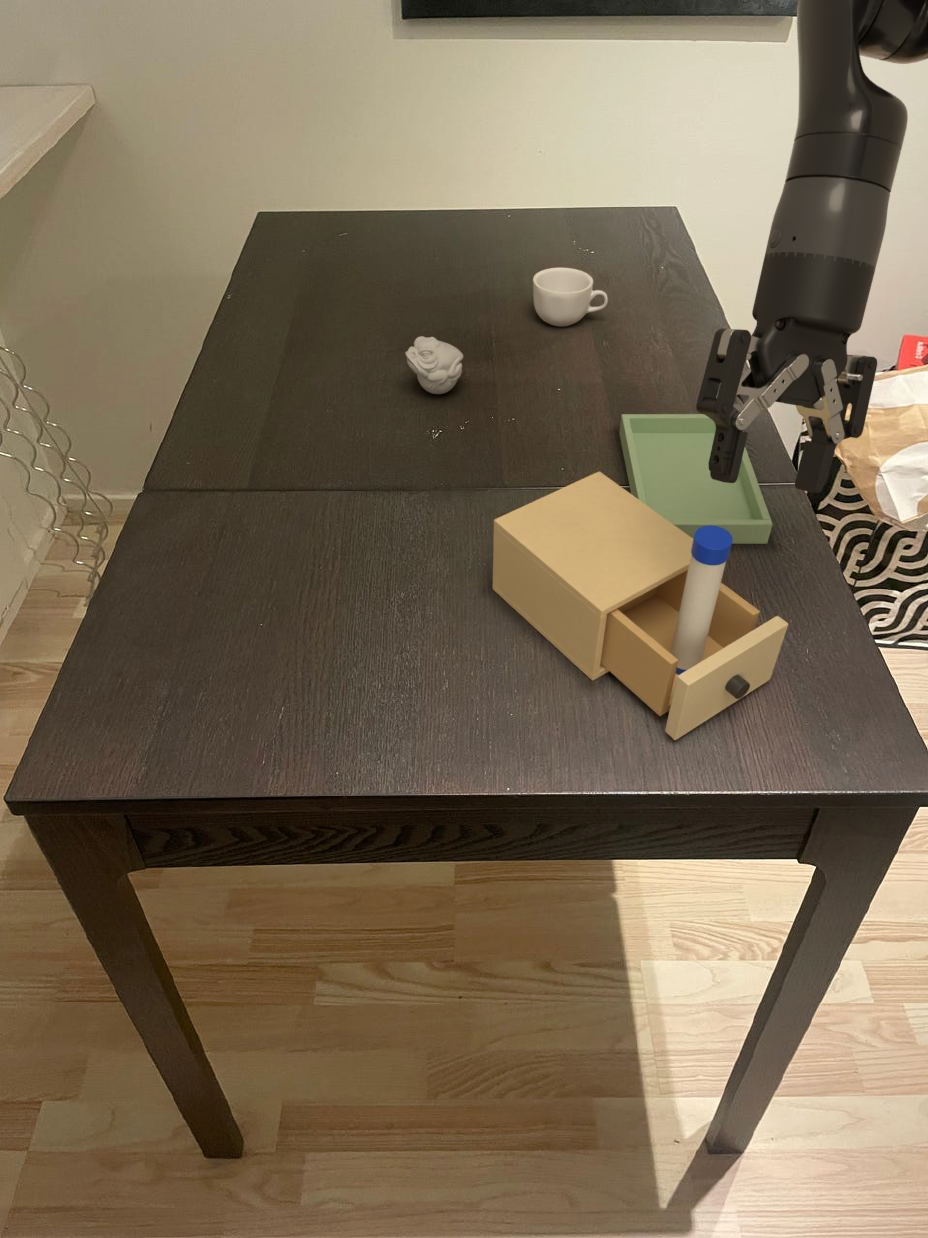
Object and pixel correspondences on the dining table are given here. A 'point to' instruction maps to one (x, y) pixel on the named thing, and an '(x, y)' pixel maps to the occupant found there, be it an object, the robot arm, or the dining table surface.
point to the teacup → (564, 295)
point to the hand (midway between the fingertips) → (766, 486)
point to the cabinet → (583, 562)
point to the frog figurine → (435, 364)
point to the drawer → (710, 686)
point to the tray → (690, 477)
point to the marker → (700, 594)
